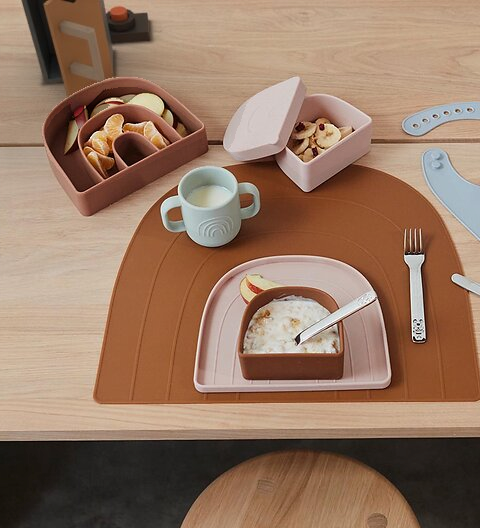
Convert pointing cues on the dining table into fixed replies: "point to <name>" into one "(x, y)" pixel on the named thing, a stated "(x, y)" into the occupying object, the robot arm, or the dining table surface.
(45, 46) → the cupboard
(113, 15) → the button
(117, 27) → the control block
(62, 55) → the cupboard door
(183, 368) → the dining table surface
